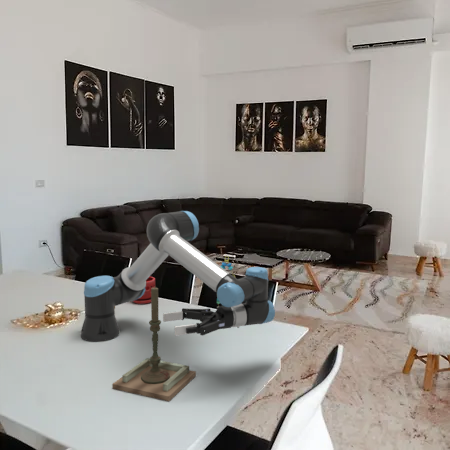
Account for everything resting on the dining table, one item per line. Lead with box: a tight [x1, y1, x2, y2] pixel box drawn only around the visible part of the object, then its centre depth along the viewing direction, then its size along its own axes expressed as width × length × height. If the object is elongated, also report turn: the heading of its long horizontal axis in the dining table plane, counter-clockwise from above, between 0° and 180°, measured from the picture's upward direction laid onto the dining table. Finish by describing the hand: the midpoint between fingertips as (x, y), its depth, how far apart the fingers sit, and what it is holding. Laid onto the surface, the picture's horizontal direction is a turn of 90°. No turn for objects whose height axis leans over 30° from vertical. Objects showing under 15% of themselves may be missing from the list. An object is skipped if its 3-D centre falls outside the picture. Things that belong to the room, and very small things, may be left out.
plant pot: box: [132, 276, 156, 305], centre depth 232 cm, size 13×13×12 cm
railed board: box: [111, 357, 197, 402], centre depth 146 cm, size 20×18×4 cm
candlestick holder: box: [141, 285, 170, 384], centre depth 144 cm, size 9×9×30 cm
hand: (168, 324), depth 145 cm, fingers open, 13 cm apart
